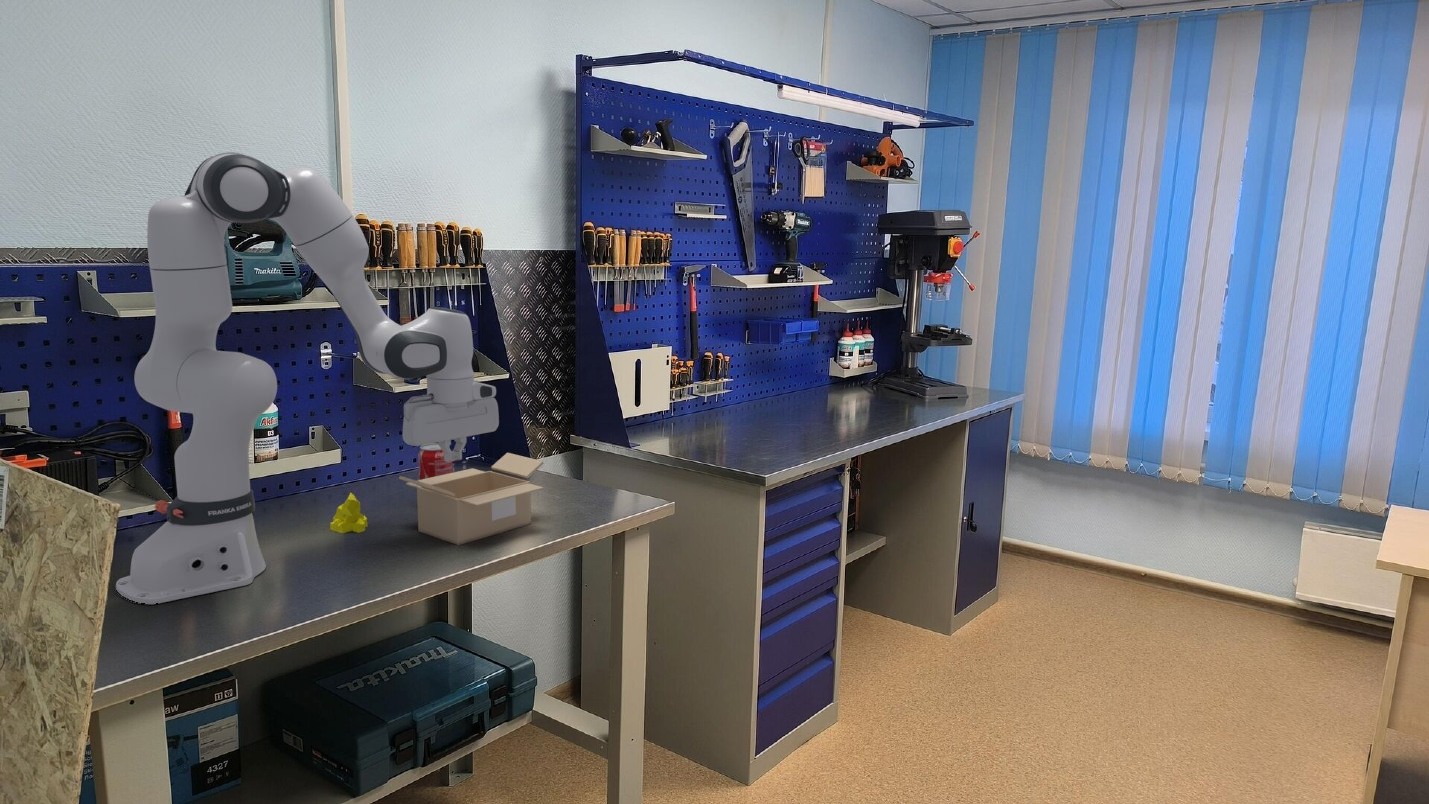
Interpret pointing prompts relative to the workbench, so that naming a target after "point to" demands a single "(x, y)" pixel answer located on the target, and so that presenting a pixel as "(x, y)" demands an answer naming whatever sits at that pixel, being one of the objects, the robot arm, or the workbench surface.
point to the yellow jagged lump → (349, 517)
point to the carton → (473, 505)
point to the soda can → (433, 462)
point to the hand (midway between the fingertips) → (453, 460)
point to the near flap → (427, 486)
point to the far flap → (517, 465)
